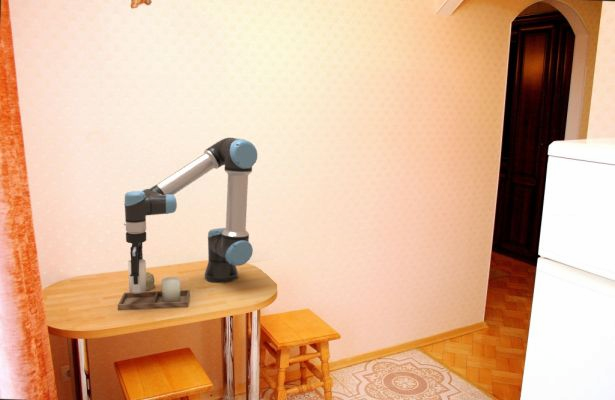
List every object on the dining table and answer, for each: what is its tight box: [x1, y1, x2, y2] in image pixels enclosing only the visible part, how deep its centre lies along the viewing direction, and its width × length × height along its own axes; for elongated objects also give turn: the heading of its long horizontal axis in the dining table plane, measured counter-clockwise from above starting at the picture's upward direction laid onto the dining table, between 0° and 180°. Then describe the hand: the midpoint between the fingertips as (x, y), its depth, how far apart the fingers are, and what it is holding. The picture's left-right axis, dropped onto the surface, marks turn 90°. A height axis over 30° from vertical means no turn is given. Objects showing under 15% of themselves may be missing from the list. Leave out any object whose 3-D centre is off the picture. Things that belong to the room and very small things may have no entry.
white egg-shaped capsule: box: [161, 276, 181, 303], centre depth 208 cm, size 7×7×9 cm
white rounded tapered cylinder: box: [127, 258, 147, 294], centre depth 205 cm, size 6×6×12 cm
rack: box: [117, 289, 191, 311], centre depth 208 cm, size 26×13×3 cm, turn 99°
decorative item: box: [145, 271, 155, 292], centre depth 223 cm, size 10×10×10 cm
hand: (137, 288), depth 206 cm, fingers closed on white rounded tapered cylinder, 6 cm apart
